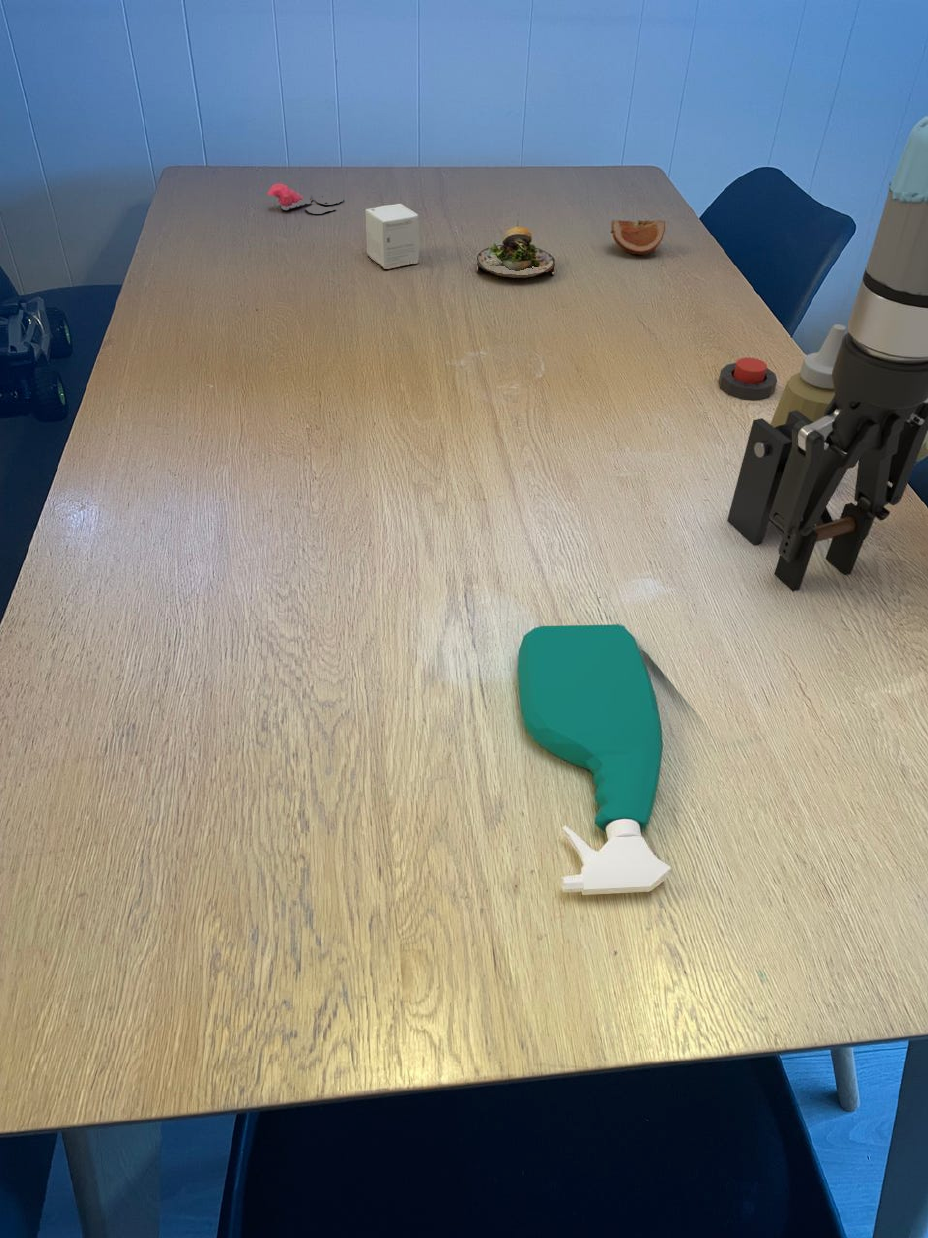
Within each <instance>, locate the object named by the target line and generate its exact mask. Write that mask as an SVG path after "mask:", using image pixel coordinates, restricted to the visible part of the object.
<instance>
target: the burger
mask: <svg viewBox="0 0 928 1238" xmlns="http://www.w3.org/2000/svg"><path fill="white" fill-rule="evenodd" d="M517 215H520V214H519V213H518V214H517ZM516 225H517V226H515V227H512V228H510V229H508V230H507V231H506V232H505V233H504V234H503V236H502V244H498V245H497V244H496V243H493V246H490V247H489V246H487V248H484V249H482V250H481V251H480V252H479V253H478V254H477V255H476V265H477V266H478V269H479V270H480V268H481V269H482V270H484V271H486V272H489V273H491V274H494V275H496V276H500V277H504V278H505V277H508V278H515V279H516V278H518V279H519V278H524V279H525V278H531V277H532V278H533V277H535V276H538V275H540V274H544V273H545V272H546V273H548V272H549V271H552V272H554V271H555V270H554V266H555V267H556V260H555V258H554V257H553V255H551V254H550V253H549V252H547V251H545V250H543V249H541V248H538V247H536V245H535V244H533V243H532V241H533V239H532V238H533V237H532V233H531V232H530V230H529V229H527V228H526V227H522V226H519V221H517V223H516ZM531 243H532V244H531ZM494 255H495V256H496V257H497V258H498V259H499V260H500V261H501V262H502V263H501V262H499V261H497V260H495V258H494V259H493V260H495V261H493V260H492V259H491V260H489V259H490V258H491V257H494ZM488 260H489V261H492V262H491V263H489V262H486V261H488ZM498 263H499V264H498ZM487 264H492V265H490V266H505V267H506V268H508V269H509V270H515V271H520V270H524V269H526V268H532V266H534V267H539V266H541V267H542V266H545V268H541V269H545V270H541V269H538V270H535V271H539V270H541V272H539V273H533V272H532V273H533V274H531V273H530V274H528V275H525V274H527V273H525V274H522V275H516V274H503V273H497V272H494V271H491V270H489V269H486V268H485V267H484V266H489V265H487ZM552 268H553V269H552ZM532 269H533V268H532Z"/></svg>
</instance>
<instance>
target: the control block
mask: <svg viewBox="0 0 928 1238" xmlns="http://www.w3.org/2000/svg"><path fill="white" fill-rule="evenodd" d="M735 366H736V362H733V363H729V364H726V365H725V366H724V367H723V368H721V369H720V373H719V377H718V387H719V389H720V390H721V391H722V392H723V393H725V394H726V395H727V396H730V397H732V398H736V399H738V400H742V401H754V402H757V401H762V400H767V399H769V398H771V397H772V395H773V394H774V393H775V391H776V387H777V384H778V378H777V374H776V373H775V372H774V371H773V370H771V369H769V368H768V367H767V370H766V373H765V377H764V381H763V382H762V383H758V384H750V383H744V382H741V381H738V380H736V379H735V378H734V376H733V375H734V370H735Z"/></svg>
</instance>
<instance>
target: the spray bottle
mask: <svg viewBox="0 0 928 1238" xmlns="http://www.w3.org/2000/svg"><path fill="white" fill-rule="evenodd" d="M640 650H641V649H640V648H639V645H638V643H637V641H636V638H635V636H633V634H632V633H630V631H629V630H628V629H627V628H626V627H625V626H624V625H620V624H575V625H571V624H569V625H568V624H567V625H564V624H563V625H541V626H537V627H534V628H532V629H531V630H529V631H528V632H527V633H525V634H523V636H522V640H521V642H520V646H519V648H518V657H517V658H518V660H517V679H518V692H519V693H518V694H519V704H520V705H519V706H520V713H521V716H522V720H523V724H524V728H525V729H526V730H527V732H528V734H529V735H530V736H531V738H532V739H533V741H534V742H536V743H537V744H539V745H540V746H541V747H543V748H544V749H546V750H547V751H548V752H550V753H551V754H552V755H554V756H556V757H558V758H559V759H562V760H564V761H566V762H568V763H570V764H573V765H575V766H578V767H579V768H583V769H586V770H589V771H590V773H591V774H592V775H593V778H592V779H593V780H592V783H593V785H594V786H595V787H596V790H595V793H594V796H593V797H594V801H595V803H596V804H597V806H598V808H599V809H598V811H597V813H596V814H595V817H594V825H595V826H596V827H598V828H599V829H600V830H601V831H602V832H603V833H605V834H606V836H607V837H606V838H607V841H606V842H605V843H604V844H603V846H602V847H601V848H600V850H598V851H597V850H596V849H593V848H591V847H590V846H589V845H588V844H587V843H586V842H585V841H584V840H583V839H582V838H581V837H580V836H579V835H578V834H577V833H576V832H575V831H573V830H572V829H571V828H570V827H568V826H567V825H566V824H564V825H563V826H562V827H561V831H562V833H563V834H564V835H565V837H566V838H567V840H568V841H569V843H570V844H571V846H572V848H574V850H575V851H576V853H577V854H578V856H579V859H580V861H581V863H582V864H581V865H582V866H581V869H580V874H571V875H566V876H561V879H560V882H561V889H562V892H563V893H581V894H582V896H586V895H588V896H589V895H607V894H625V893H626V894H627V893H629V894H630V893H645V892H646V893H648V892H651V891H653V890H654V889H655V888H657V887H658V886H659V885H661V884H662V883H663V882H665V881H666V880H667V879H669V876H670V875H669V874H670V872H671V869H672V868H671V866H670V865H669V864H667V863H666V862H664V861H662V860H660V859H659V858H658V857H657V856H656V855H655V853H654V852H653V851H652V850H651V849H650V848H649V846H648V844H647V842H646V840H645V838H644V837H643V836H642V832H641V831H643V830H645V829H646V828H647V827H648V824H649V822H650V819H651V816H652V811H653V809H654V805H655V801H656V796H657V790H658V785H659V781H660V774H661V773H660V772H661V765H662V756H663V748H664V745H663V743H664V742H663V728H662V722H661V716H660V710H659V705H658V700H657V699H658V698H657V695H656V692H655V689H654V687H653V683H652V679H651V677H650V674H649V671H648V667H647V665H646V662H645V660H644V657H643V655H642V652H641V651H640Z"/></svg>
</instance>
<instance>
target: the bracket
mask: <svg viewBox="0 0 928 1238" xmlns="http://www.w3.org/2000/svg"><path fill="white" fill-rule="evenodd" d="M800 420H802V421H804V422H805V423H807V424H808V425H810V424H811V423H813V421H811V420H810V419H809V418H807V417H806V416H805V415H803V414H802V413H800V412H799V411H798V410H795V411H791V412H789V413H788V417H787V420H786V424H788V423H792V422H796V423H797V422H798V421H800ZM770 424H771V423H769V422H768V421H766V419H764V418H762V417H760V418H757V419H753V421H752V424H751V428H750V431H749V436H748V440H747V444H746V447H745V451H744V454H743V459H742V462H741V466H740V469H739V473H738V477H737V481H736V485H735V489H734V492H733V497H732V500H731V503H730V507H729V512H728V516H727V519H726V521H727V522H728V524H730V526H732V527H733V528H734V529H735V530H736V531H737V532H738V533H739V534H740V535H741V536H743V538H744V539H746V540H747V542H749V543H750V544H751V545H752V546H754V547H755V546H758V545H763V541H764V539H765V535H766V531H767V529H768V525H769V522H771V524H772V525H774V526H775V527H776V528H777V529H778V530H779V531H781V532H782V533H783V534H784V531H783V530H782V529H781V528H780V527H779V526H777V525H776V524H775V523H774V522H773V521H772V520H771V519H770V518H769V516H770V512H771V509H772V506H773V503H774V500H775V497H776V494H777V491H778V488H779V485H780V482H781V479H782V476H783V473H784V470H785V466H786V462H787V459H788V455H789V452H790V449H791V445H792V441H791V440H790V439H788V438H787V437H786V436H785V435H783V434H782V433H781V432H779V431H778V430H777V429H776V428H774V427H773V426H772V425H770Z"/></svg>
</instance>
